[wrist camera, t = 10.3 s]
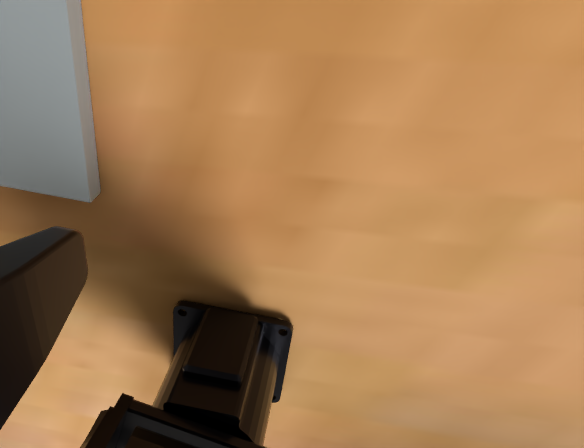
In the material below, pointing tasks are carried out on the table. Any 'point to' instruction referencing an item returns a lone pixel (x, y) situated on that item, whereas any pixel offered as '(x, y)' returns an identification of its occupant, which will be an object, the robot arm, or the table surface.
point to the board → (46, 101)
